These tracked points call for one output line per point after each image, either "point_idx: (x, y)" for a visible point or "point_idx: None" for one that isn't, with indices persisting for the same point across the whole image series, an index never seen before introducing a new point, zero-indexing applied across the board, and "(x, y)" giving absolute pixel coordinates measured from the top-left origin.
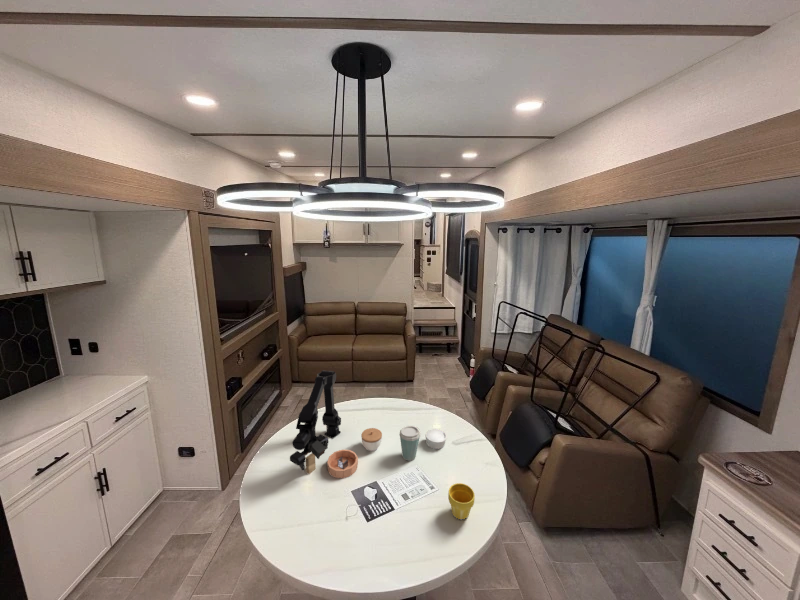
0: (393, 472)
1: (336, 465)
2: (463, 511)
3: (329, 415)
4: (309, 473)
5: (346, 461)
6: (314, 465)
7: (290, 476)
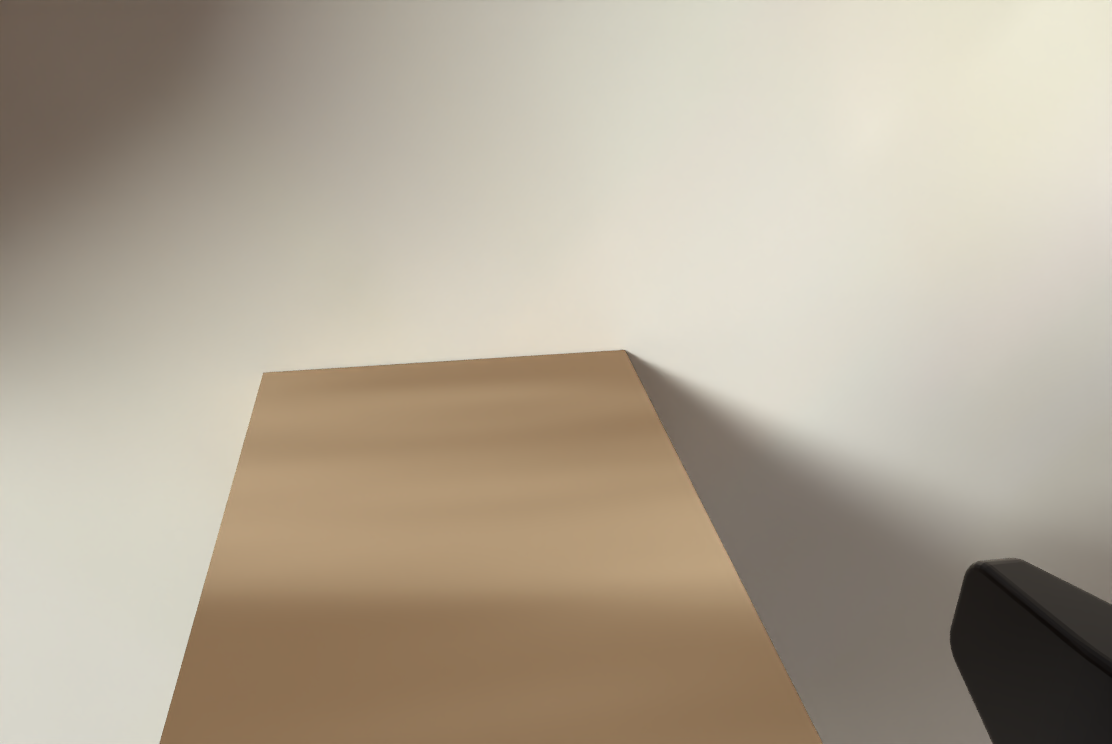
0: None
1: None
2: None
3: None
4: (619, 364)
5: None
6: (304, 494)
7: (965, 693)
